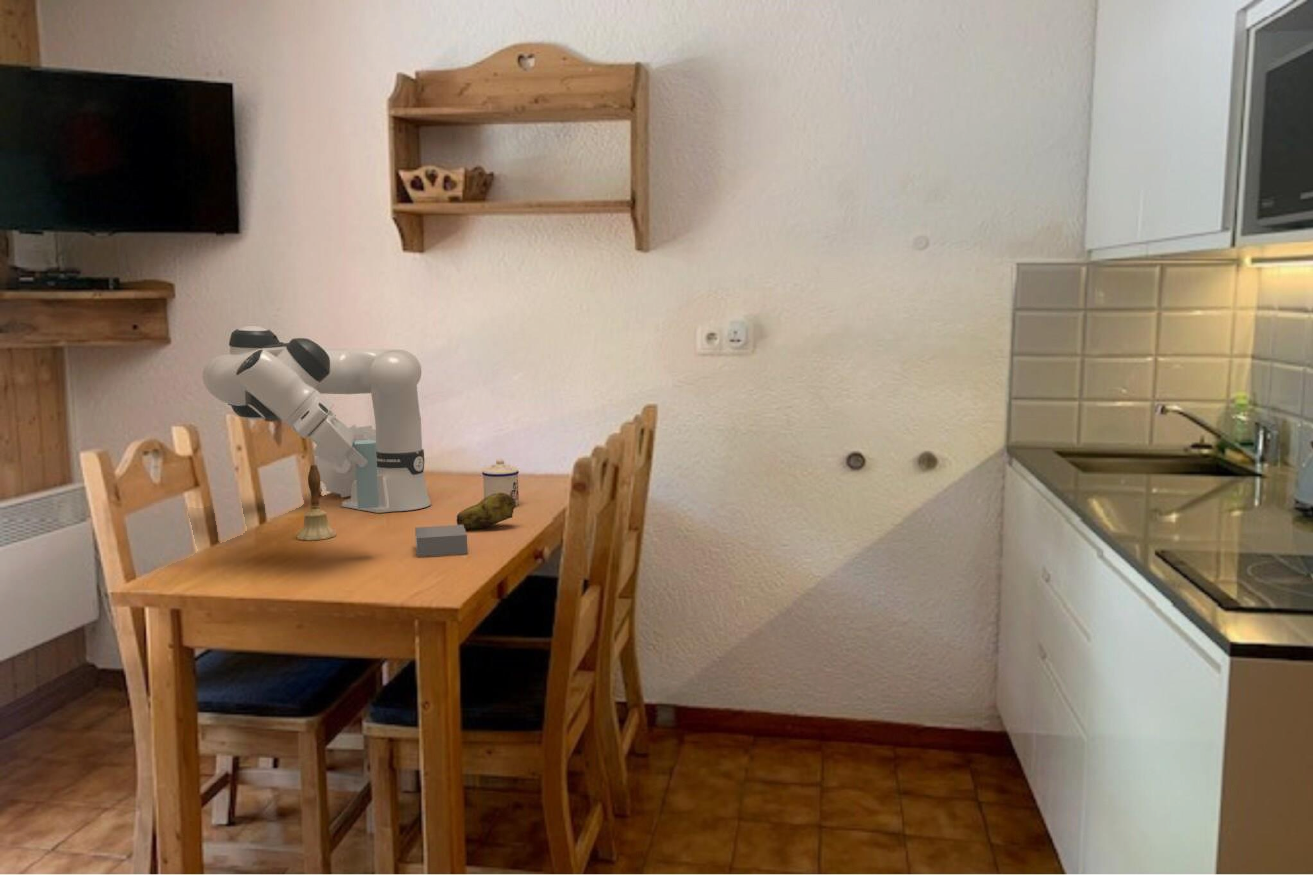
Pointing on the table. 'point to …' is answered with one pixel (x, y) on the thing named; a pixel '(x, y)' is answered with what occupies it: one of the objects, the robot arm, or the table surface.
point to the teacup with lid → (501, 480)
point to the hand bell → (315, 513)
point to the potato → (487, 511)
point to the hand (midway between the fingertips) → (365, 462)
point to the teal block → (367, 475)
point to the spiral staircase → (340, 464)
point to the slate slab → (441, 540)
